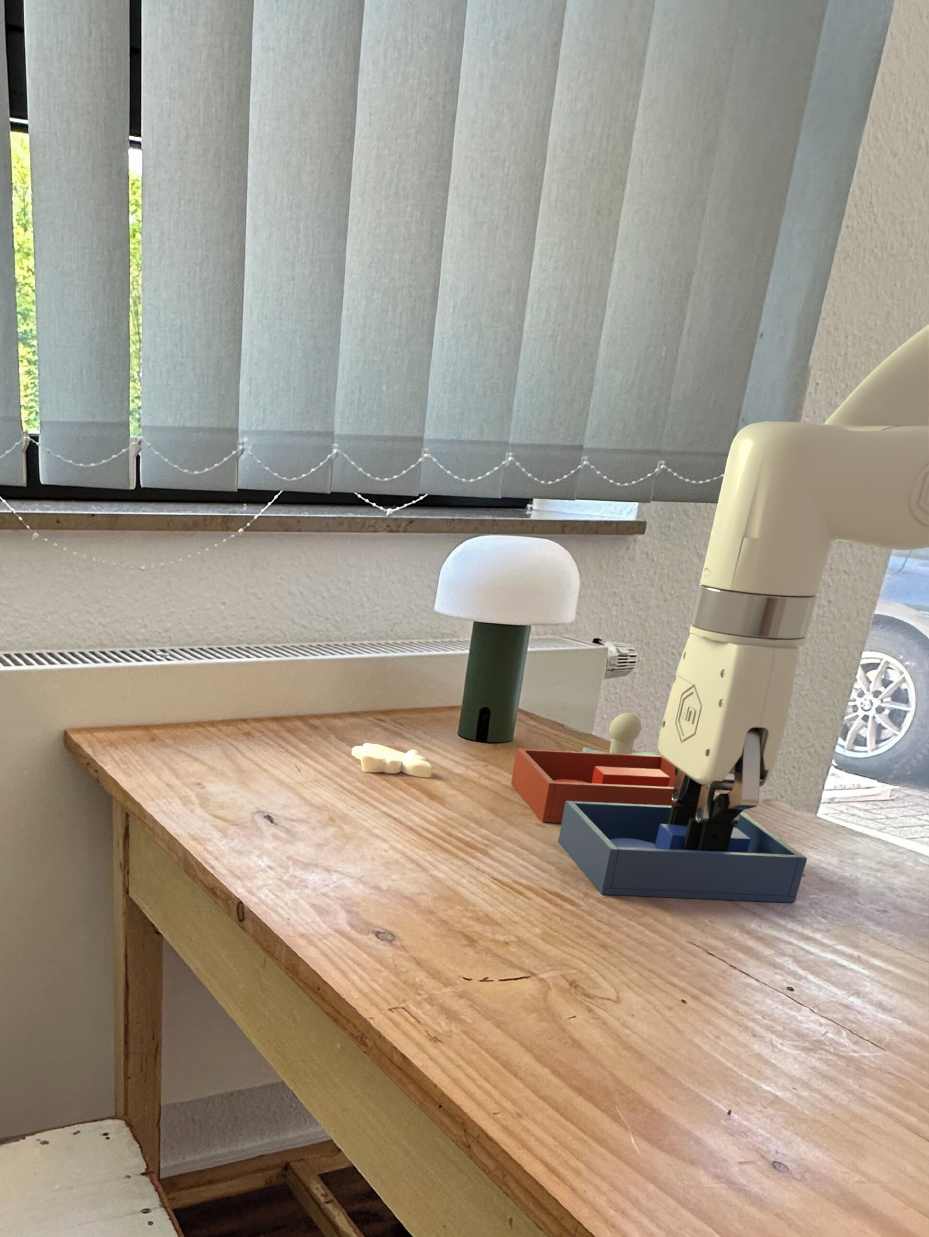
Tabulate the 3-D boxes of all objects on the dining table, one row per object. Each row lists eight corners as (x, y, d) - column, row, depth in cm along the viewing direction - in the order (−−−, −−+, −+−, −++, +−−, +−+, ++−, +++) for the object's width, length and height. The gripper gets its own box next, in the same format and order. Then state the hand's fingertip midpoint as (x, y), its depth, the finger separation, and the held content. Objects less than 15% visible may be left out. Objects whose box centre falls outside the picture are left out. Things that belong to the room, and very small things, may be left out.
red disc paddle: (649, 795, 99) (656, 766, 98) (667, 810, 95) (674, 780, 94) (540, 790, 99) (545, 761, 98) (554, 805, 95) (559, 774, 94)
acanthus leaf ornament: (431, 779, 102) (434, 760, 102) (360, 776, 102) (362, 757, 101) (418, 757, 109) (420, 739, 108) (351, 754, 109) (352, 736, 108)
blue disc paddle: (722, 857, 84) (731, 823, 83) (747, 878, 80) (756, 843, 79) (595, 850, 84) (602, 817, 83) (613, 871, 80) (620, 836, 79)
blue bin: (728, 849, 88) (739, 808, 86) (794, 903, 78) (807, 858, 76) (557, 841, 87) (565, 800, 86) (601, 894, 77) (610, 849, 76)
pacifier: (571, 761, 111) (583, 776, 106) (582, 701, 109) (595, 713, 103) (643, 767, 111) (659, 781, 105) (655, 706, 108) (672, 718, 103)
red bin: (657, 790, 102) (665, 755, 101) (705, 829, 92) (714, 790, 91) (510, 784, 102) (516, 748, 100) (542, 822, 92) (549, 783, 90)
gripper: (655, 598, 82) (608, 825, 89) (749, 633, 67) (683, 901, 75) (751, 603, 82) (696, 830, 90) (866, 639, 67) (788, 906, 75)
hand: (691, 860), depth 82 cm, fingers closed on blue disc paddle, 2 cm apart
